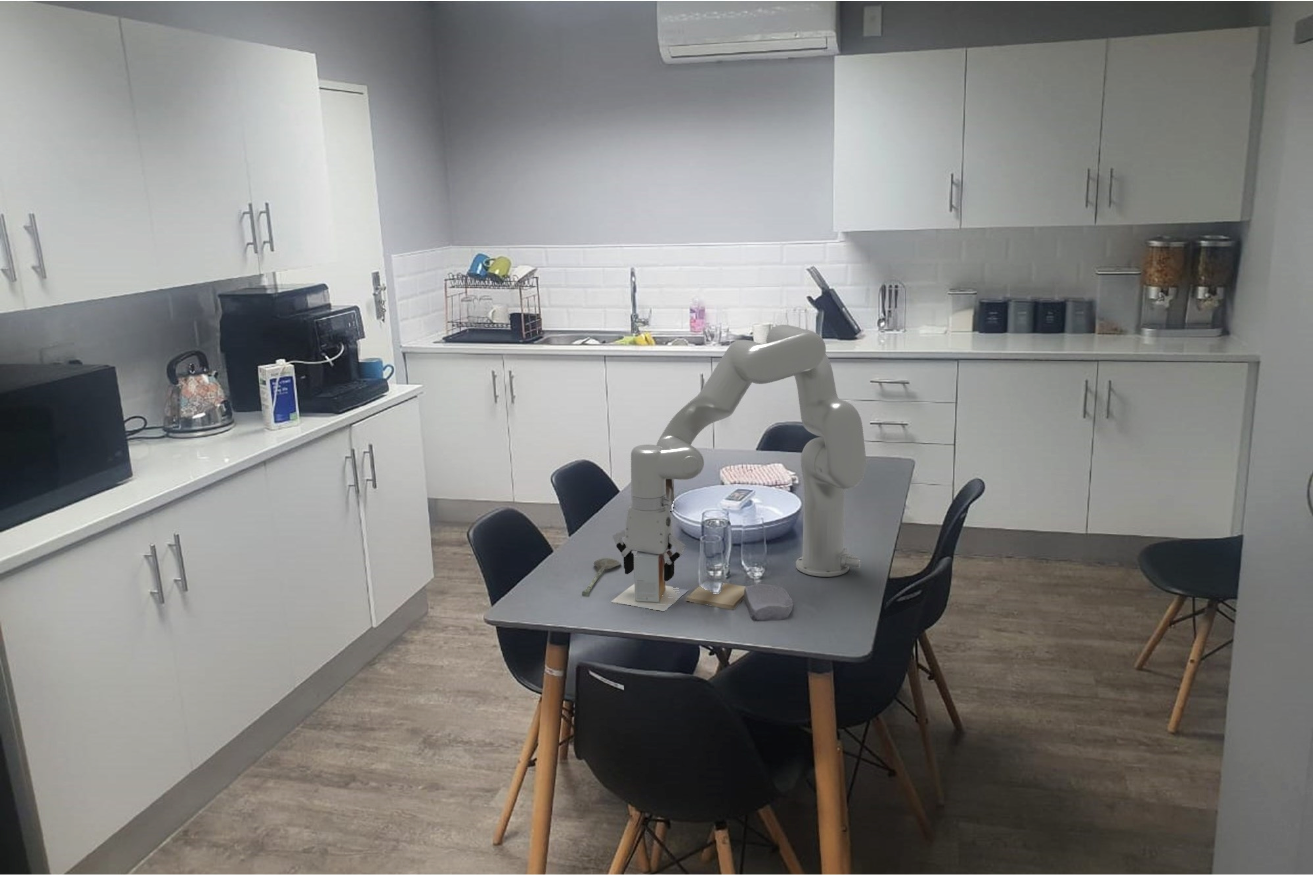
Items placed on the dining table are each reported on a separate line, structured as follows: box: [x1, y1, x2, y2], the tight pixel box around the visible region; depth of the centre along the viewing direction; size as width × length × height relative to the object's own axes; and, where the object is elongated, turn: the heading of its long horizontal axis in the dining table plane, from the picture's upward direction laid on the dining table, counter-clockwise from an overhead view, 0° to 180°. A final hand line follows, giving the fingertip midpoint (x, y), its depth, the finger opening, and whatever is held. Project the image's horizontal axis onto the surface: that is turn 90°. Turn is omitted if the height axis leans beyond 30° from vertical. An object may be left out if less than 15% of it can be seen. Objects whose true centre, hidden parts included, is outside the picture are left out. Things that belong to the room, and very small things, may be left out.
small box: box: [633, 551, 666, 602], centre depth 218 cm, size 8×6×10 cm
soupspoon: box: [581, 557, 622, 597], centre depth 231 cm, size 22×3×7 cm
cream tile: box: [610, 583, 682, 612], centre depth 220 cm, size 13×13×1 cm
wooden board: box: [685, 582, 747, 611], centre depth 219 cm, size 11×11×1 cm
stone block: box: [743, 583, 794, 622], centre depth 212 cm, size 12×5×10 cm
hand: (648, 575), depth 218 cm, fingers open, 9 cm apart
